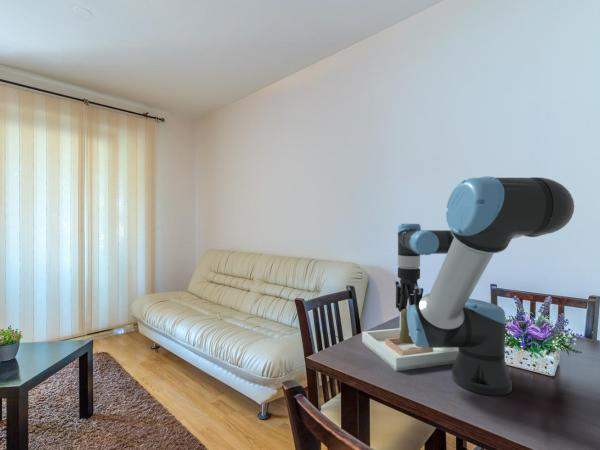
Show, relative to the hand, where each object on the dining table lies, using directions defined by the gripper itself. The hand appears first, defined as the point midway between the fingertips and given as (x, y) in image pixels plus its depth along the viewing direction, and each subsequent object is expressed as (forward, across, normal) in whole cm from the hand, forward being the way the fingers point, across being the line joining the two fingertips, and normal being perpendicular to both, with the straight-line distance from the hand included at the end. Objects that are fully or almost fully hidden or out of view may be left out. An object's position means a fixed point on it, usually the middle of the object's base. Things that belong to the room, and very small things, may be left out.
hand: (408, 332), depth 114 cm
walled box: (+7, 0, 0) cm, 7 cm away
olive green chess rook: (+3, 0, 0) cm, 3 cm away
